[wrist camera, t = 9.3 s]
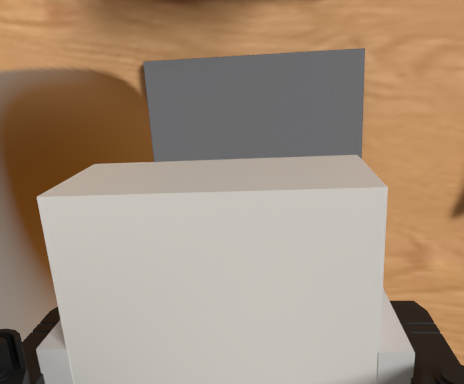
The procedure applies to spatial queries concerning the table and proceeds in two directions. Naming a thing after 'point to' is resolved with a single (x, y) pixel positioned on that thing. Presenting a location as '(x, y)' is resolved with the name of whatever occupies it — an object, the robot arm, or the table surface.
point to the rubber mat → (256, 106)
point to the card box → (220, 270)
